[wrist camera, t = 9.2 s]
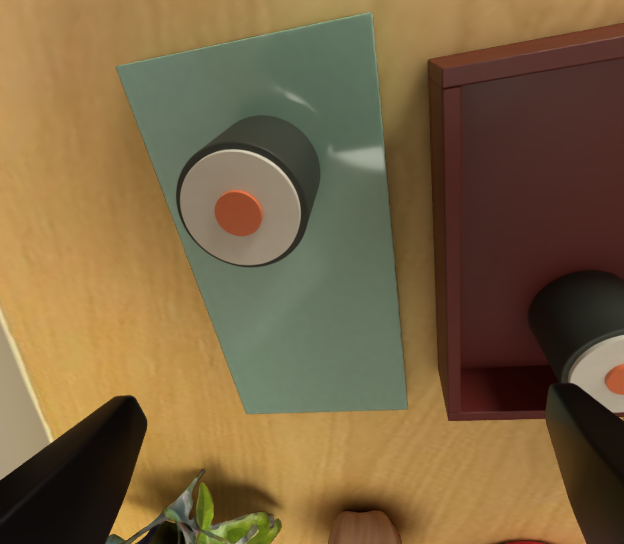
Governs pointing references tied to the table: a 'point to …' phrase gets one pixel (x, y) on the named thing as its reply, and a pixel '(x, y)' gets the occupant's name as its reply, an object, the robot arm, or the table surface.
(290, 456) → the table surface
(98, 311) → the table surface
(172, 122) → the plate
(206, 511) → the passion flower
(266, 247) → the cylinder
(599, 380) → the cylinder
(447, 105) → the sushi box
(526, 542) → the canned food
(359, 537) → the cupcake
